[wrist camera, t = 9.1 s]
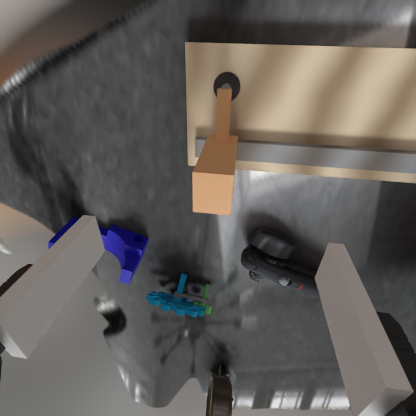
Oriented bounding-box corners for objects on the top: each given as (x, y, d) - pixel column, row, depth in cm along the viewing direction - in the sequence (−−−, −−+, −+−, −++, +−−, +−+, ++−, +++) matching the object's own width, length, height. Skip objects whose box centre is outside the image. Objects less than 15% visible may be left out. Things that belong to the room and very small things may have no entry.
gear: (144, 295, 44) (145, 312, 34) (154, 263, 45) (158, 271, 35) (201, 308, 47) (216, 327, 37) (209, 277, 48) (226, 288, 38)
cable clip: (149, 237, 38) (134, 266, 34) (142, 255, 41) (128, 284, 36) (74, 208, 37) (48, 234, 32) (73, 229, 40) (48, 255, 35)
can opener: (231, 246, 37) (228, 275, 33) (259, 217, 34) (261, 244, 29) (317, 295, 41) (326, 327, 36) (352, 274, 37) (367, 307, 32)
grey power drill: (214, 360, 58) (204, 455, 44) (236, 365, 57) (233, 462, 44) (208, 379, 64) (198, 467, 51) (228, 383, 64) (223, 473, 50)
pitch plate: (516, 51, 20) (747, 58, 11) (437, 179, 27) (538, 251, 18) (188, 42, 23) (147, 40, 14) (190, 160, 30) (164, 214, 20)
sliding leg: (243, 83, 23) (240, 104, 15) (235, 164, 27) (230, 215, 19) (211, 82, 23) (191, 102, 15) (208, 162, 28) (193, 211, 20)
